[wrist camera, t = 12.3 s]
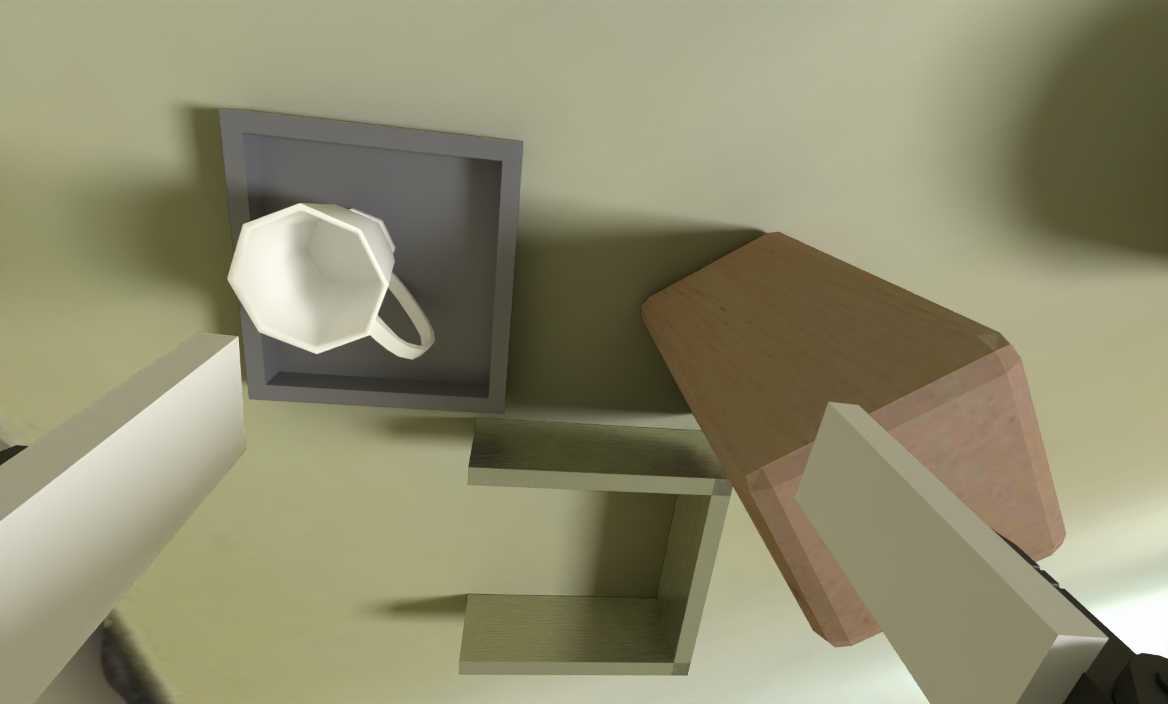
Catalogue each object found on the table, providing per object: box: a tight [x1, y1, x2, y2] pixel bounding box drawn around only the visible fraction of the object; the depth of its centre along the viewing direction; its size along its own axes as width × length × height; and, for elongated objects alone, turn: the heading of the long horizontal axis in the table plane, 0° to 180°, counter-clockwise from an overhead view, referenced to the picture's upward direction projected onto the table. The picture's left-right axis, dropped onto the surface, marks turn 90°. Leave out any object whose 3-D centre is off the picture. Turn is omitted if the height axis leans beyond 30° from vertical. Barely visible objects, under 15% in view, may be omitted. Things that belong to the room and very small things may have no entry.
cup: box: [227, 203, 435, 360], centre depth 31 cm, size 7×10×8 cm
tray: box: [219, 109, 523, 414], centre depth 34 cm, size 16×15×3 cm
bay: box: [459, 418, 733, 675], centre depth 41 cm, size 16×16×6 cm
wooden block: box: [641, 232, 1066, 647], centre depth 29 cm, size 10×10×20 cm
